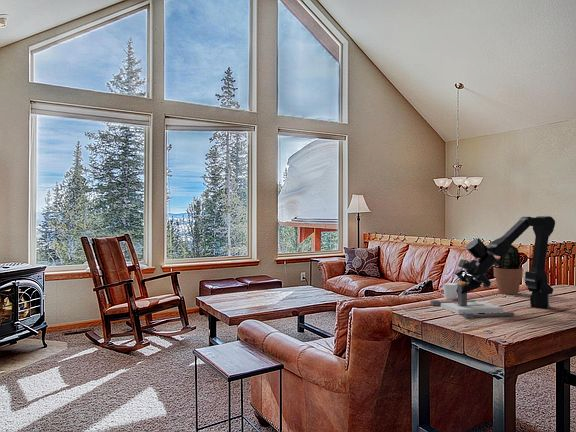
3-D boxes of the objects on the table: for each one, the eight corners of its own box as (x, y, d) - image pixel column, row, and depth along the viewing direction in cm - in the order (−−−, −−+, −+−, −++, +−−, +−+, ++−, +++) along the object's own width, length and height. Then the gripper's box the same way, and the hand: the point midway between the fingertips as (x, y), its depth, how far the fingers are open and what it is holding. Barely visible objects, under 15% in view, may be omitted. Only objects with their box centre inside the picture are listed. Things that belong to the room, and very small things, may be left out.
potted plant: (490, 290, 235) (489, 243, 235) (517, 291, 233) (516, 243, 233) (498, 295, 221) (498, 245, 221) (527, 295, 219) (527, 245, 219)
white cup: (459, 299, 210) (459, 285, 210) (444, 299, 211) (444, 284, 211) (456, 297, 217) (456, 282, 217) (442, 296, 218) (442, 282, 218)
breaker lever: (463, 304, 187) (462, 281, 187) (467, 305, 184) (466, 282, 184) (457, 304, 187) (457, 281, 187) (461, 305, 184) (461, 282, 184)
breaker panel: (482, 305, 195) (482, 301, 195) (503, 312, 181) (503, 307, 181) (440, 307, 191) (440, 302, 191) (458, 314, 178) (458, 309, 178)
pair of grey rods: (473, 302, 202) (473, 298, 202) (515, 316, 174) (515, 311, 174) (430, 304, 198) (430, 300, 198) (466, 318, 170) (466, 313, 170)
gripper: (458, 251, 196) (435, 276, 194) (483, 254, 177) (458, 282, 175) (474, 268, 197) (452, 293, 195) (501, 273, 178) (477, 301, 176)
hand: (459, 292), depth 185 cm, fingers closed on breaker lever, 3 cm apart
